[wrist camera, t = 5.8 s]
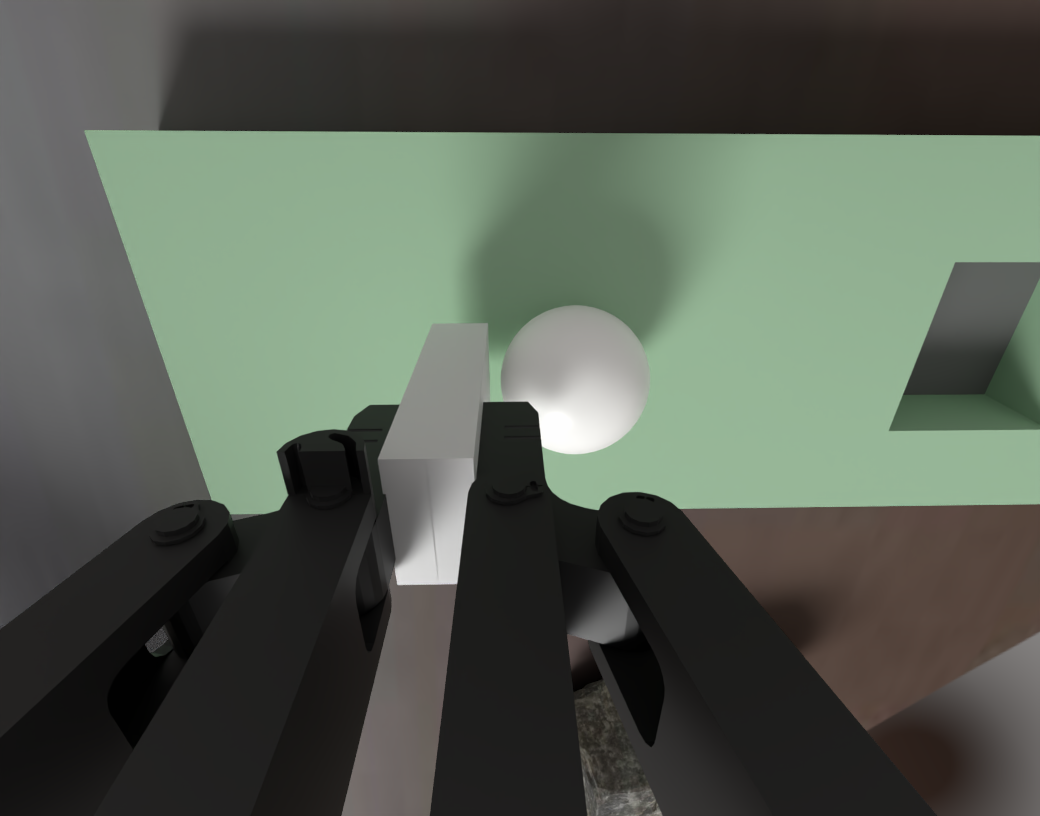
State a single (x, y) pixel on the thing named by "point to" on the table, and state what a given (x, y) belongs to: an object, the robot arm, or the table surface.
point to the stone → (609, 758)
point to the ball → (578, 377)
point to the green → (610, 297)
